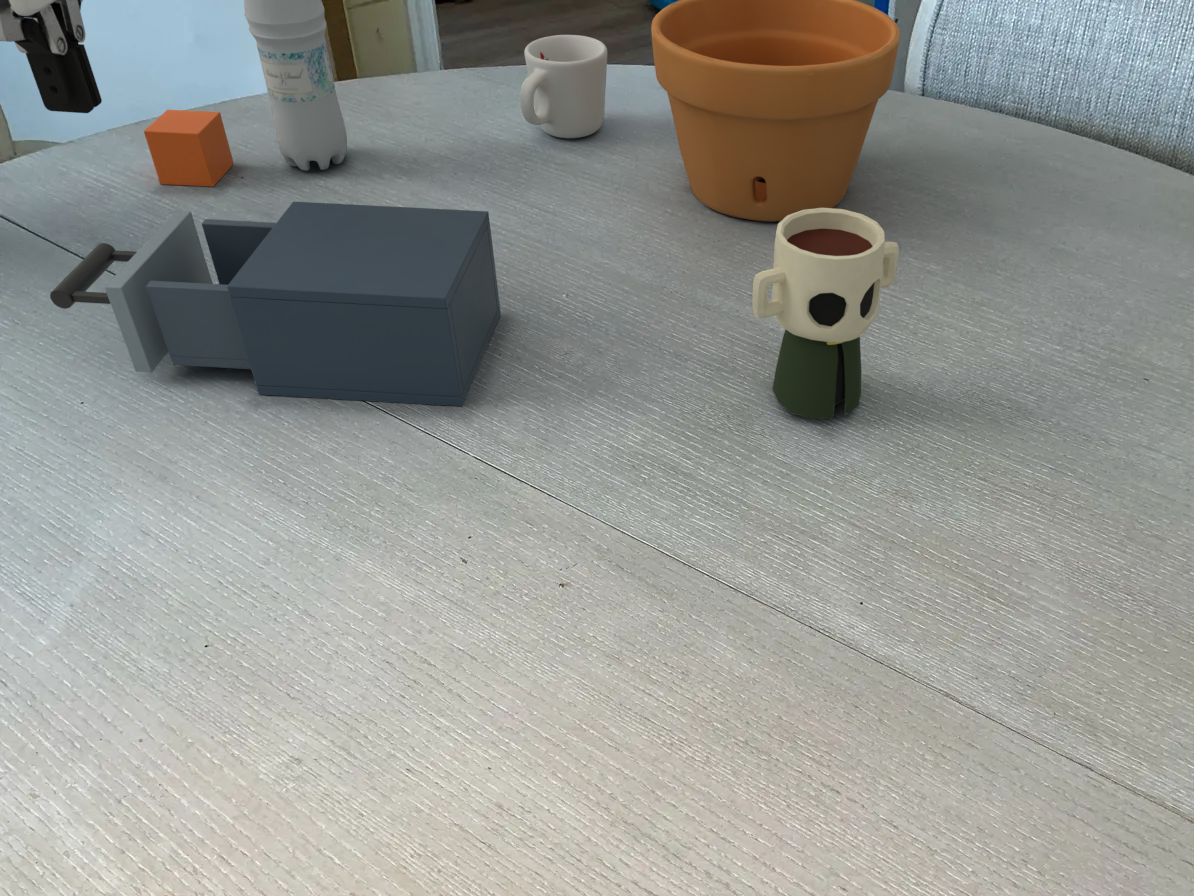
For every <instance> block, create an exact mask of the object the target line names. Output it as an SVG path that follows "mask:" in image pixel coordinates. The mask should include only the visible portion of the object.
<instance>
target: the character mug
mask: <svg viewBox="0 0 1194 896" xmlns="http://www.w3.org/2000/svg"><path fill="white" fill-rule="evenodd" d="M773 249H774V251H773V252H774V253H773V268H770V269H767V270H766V269H765V270H762V271H759V272H758V273H756V274H755V275H754V278H753V281H752V282H753V283H752V302H751V303H752V304H751V308H752V314H753V317H754V318H757V319H767V318H771V317H773V318H774V319H775V321H776V322H777V323H778V324H779V326H780V327H781V328H783V329H784V333H783V335H782V339H781V344H780V348H779V353H778V358H777V362H776V366H775V372H774V377H773V383H772V392H773V394H774V396H775V399H776V400H777V402H778V403H779V404H781V405H782V406H783V407H784V408H785V409H786V410H787V411H788V412H789V413H790V414H793V415H796V416H799V417H803V418H806V419H809V420H810V419H811V420H830V419H833V418H834V417H835V407H836V405H839V404H840V403H841V402H843V401H844V415H847V414H850V413H851V412H852V411H853V410H854V409H855V408H857V407H858V406H859V404H860V399H861V396H862V394H861V393H862V353H861V336H862V335H864V333H866V332H867V330H868V329H869V328H870V327H871V326H872V324H873V323H874V322H875V321H876V318H877V316H878V312H879V309H880V305H881V294H882V289H886V288H889V287H890V286H892V285H894V283H895V281H896V277H897V272H898V271H897V270H898V262H899V253H900V249H899V246H898V242H897V241H886V240H885V230H884V229H883V228H882V227H881V225H880V224H879V223H878V221H876V220H874V219H872V218H870V217H869V216H866V215H865V214H863V213H859V212H855V211H851V210H848V209H843V208H834V207H833V208H816V209H806V210H801V211H799V212H796V213H793V214H790V215H787V216H786V217H785V218H784V219H783V220H782V221H778V223H777V227H776V233H775V238H774V248H773ZM769 286H772V287H771V288H772V289H771V301H768V292H769V291H768V289H769Z"/></svg>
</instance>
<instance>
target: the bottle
mask: <svg viewBox="0 0 1194 896" xmlns="http://www.w3.org/2000/svg"><path fill="white" fill-rule="evenodd" d="M243 8H244V17H245V19H246V21H247V23H248V31H249V33H250V34H251V36H252V37H253V38H254V40H255V43H256V48H257V52H258V56H259V60H260V65H261V70H262V74H263V78H264V81H265V86H266V91H267V94H268V97H269V102H270V109H271V115H272V121H273V127H274V131H275V132H274V133H275V138H276V141H277V146H278V148H279V151H280V154H281V155H282V157H283V159H284V161H285V162H286V163H287V164H288V165H289V166H292V167H298V169H300V170H301V171H310V169H311V163H310V162H312V161H314V162H316V163H317V164H318V167H319V169H320V170H322V171H325V170H328V169H329V167H330V162H331V160H332V163H333V164H335V165H340V164H341V163H343V161H344V160H345V157H346V152H347V147H348V135H347V129H346V124H345V120H344V117H343V114H342V109H341V106H340V101H339V100H338V95H337V91H336V85H335V80H334V75H333V69H332V64H331V59H330V54H329V50H328V49H329V48H328V44H327V39H326V34H325V33H326V29H327V21H326V19H325V7H324V4H323V1H322V0H243Z"/></svg>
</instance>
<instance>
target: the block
mask: <svg viewBox="0 0 1194 896" xmlns="http://www.w3.org/2000/svg"><path fill="white" fill-rule="evenodd" d="M143 133H144V137H145V140H146V143H147V146H148V147H147V148H148V149H149V152H150V156H151V159H152V163H153V165H154V169H155V173H156V175H157V178H158V182H159V184H160V185H168V186H169V185H170V186H172V185H173V186H191V187H192V186H193V187H213V188H214V186H215V185H216V184H217V183H218V182H219V181H220V180H221V179H222V178H223V177H224V175H225V174H226V173H227V172H228V171H229V170H230V169H231V168H232V167H233V166H234V164H235V163H234V159H233V155H232V151H231V148H230V144H229V140H228V137H227V133H226V129H225V125H224V122H223V118H222V114H221V112H220V111H206V110H205V111H204V110H203V111H202V110H186V109H185V110H184V109H183V110H182V109H166V110H165V111H164V112H163V113H161V114H160V115H159V117H157V118H156V119H155V120H154V121H153V122H152V123H151V124H150V125H149V126H148V127H146V128H145V129H144V130H143Z"/></svg>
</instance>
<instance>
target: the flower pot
mask: <svg viewBox="0 0 1194 896" xmlns="http://www.w3.org/2000/svg"><path fill="white" fill-rule="evenodd" d="M650 27H651V28H650V29H651V31H650V32H651V44H652V53H653V62H654V72H655V77H656V81H657V82H658V84H659V86H661V88H662V89H663V90H664V91H665V92H666V93H667V97H668V101H669V105H670V106H669V107H670V110H671V115H672V119H673V122H674V128H675V133H676V137H677V142H678V147H679V151H680V155H681V158H682V159H681V160H682V163H683V166H684V170H685V173H686V177H687V181H688V184H689V187H690V188H689V189H690V190H691V193H692V194H693V195H694V197H695V198H696V199H697V200H698V201H699V202H700V203H702V204H703V205H704V206H706V207H707V208H709V209H711V210H713V211H715V212H718V213H721V214H723V215H727V216H729V217H734V218H738V219H744V220H751V221H756V222H781V221H782V220H783V219H784V218H785V217H786V216H787V215H790V214H793V213H796V212H799V211H801V210H806V209H816V208H833V209H834V208H835V207H836V206H837V205H838V204H840V203H841V202H842V200H843V199H844V197H845V195H846V193H847V191H848V188H849V186H850V183H851V180H852V178H853V174H854V173H855V169H856V167H857V164H858V162H859V158H860V156H861V152H862V150H863V147H864V143H865V141H866V137H867V135H868V132H869V128H870V125H871V122H872V120H873V116H874V113H875V111H876V108H877V104H878V101H879V99H881V98H883V96H885V94H886V93H888V90H889V89H890V88H891V85H892V80H893V77H894V76H893V75H894V71H895V66H896V61H897V56H898V49H899V44H900V39H901V38H900V37H901V31H900V27H899V26H898V24H897V23H896V22H895V20H894V19H893V18H891V16H890V15H889V14H886V13H885V12H883V11H882V10H880V9H878V8H876V7H874V6H871V5H869V4H867V3H864V2H862V1H859V0H677V1H674V2H672V3H670V4H668V5H667V6H665V7H664V8H662V9H661V10H660V11H659V12H658V13H656V14H655V16H654V17H653V19H652V22H651V26H650ZM761 180H764V181H765V182H763V181H761Z"/></svg>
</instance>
